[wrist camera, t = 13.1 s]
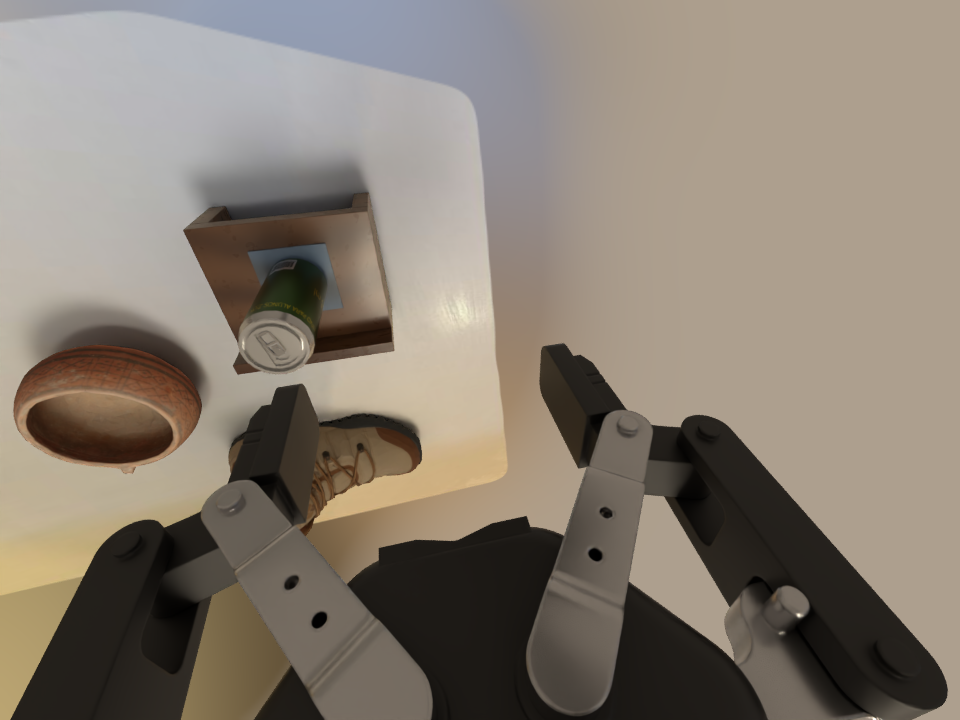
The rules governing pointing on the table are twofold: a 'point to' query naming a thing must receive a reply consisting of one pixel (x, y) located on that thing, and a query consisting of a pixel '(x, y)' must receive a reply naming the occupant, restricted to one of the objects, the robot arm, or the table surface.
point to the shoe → (354, 457)
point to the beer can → (284, 318)
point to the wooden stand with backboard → (312, 237)
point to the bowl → (106, 407)
